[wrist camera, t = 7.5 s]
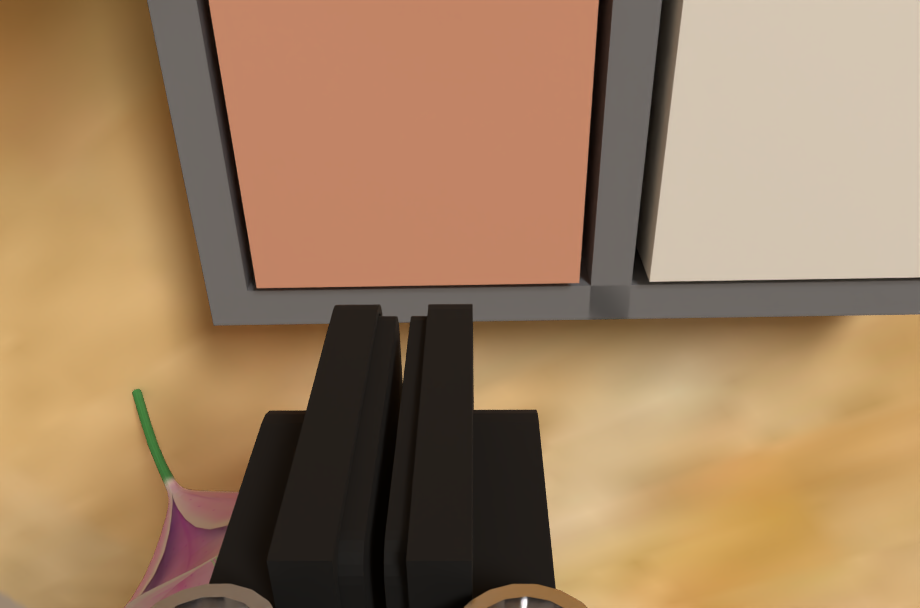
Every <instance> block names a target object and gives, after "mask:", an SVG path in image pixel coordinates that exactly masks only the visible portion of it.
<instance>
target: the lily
mask: <svg viewBox="0 0 920 608" xmlns="http://www.w3.org/2000/svg"><path fill="white" fill-rule="evenodd" d="M132 394H133V397H134V401H135V404H136V408H137V411H138V415H139V418H140V421H141V424H142V428H143V431H144V434H145V437H146V440H147V443H148V446H149V449H150V451H151V454H152V456H153V459H154V461H155V463H156V466H157V468H158V471H159V473H160V475H161V477H162V480H163V482H164V484H165V487H166V489H167V492H168V497H169V504H168V510H167V515H166V519H165V522H164V526H163V529H162V532H161V536H160V538H159V541H158V544H157V547H156V550H155V553H154V555H153V558H152V560H151V562H150V565H149V567H148V569H147V571H146V574H145V576H144V578H143V580H142V581H141V583H140V585H139V586H138V588H137V590H136V591H135V593H134V595H133V596H132V598H131V600H130V601H129V602H128V603H127V604H126V606H125V607H124V608H151V607H152V606H153V605H154V604H156V603H157V602H158V601H160V600H163V599H165V598H167V597H169V596H171V595H173V594H175V593H177V592H179V591H181V590H184V589H188V588H192V587H196V586H200V585H204V584H209V582H210V579H211V576H212V572H213V569H214V566H215V563H216V560H217V557H218V554H219V551H220V548H221V545H222V542H223V539H224V536H225V533H226V530H227V527H228V524H229V521H230V518H231V515H232V512H233V509H234V506H235V503H236V500H237V497H238V494H239V492H227V491H199V490H189V489H185V488H183V487H181V486H180V485H179V484H178V483H177V482H176V481H175V479H174V477H173V475H172V473H171V472H170V470H169V468H168V466H167V464H166V462H165V460H164V457H163V455H162V453H161V450H160V448H159V445H158V443H157V440H156V437H155V434H154V431H153V428H152V425H151V422H150V419H149V415H148V412H147V408H146V405H145V402H144V398H143V395H142V392H141V390H140V389H136V390H134V391H133V392H132Z"/></svg>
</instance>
